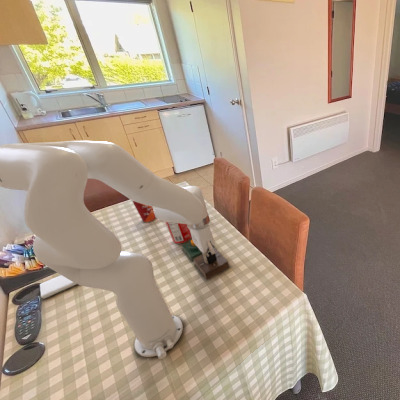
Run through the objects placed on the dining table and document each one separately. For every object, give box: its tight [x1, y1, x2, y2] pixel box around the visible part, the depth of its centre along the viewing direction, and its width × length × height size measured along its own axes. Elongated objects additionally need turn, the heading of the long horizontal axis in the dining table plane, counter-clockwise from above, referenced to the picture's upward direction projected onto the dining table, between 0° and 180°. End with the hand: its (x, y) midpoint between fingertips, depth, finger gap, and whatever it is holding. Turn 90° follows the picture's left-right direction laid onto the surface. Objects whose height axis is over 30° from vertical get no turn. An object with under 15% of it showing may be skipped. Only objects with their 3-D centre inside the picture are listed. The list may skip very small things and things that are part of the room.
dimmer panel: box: [193, 247, 230, 280], centre depth 103 cm, size 11×9×3 cm
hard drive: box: [39, 274, 77, 300], centre depth 97 cm, size 2×8×12 cm
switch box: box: [181, 240, 202, 262], centre depth 111 cm, size 10×9×4 cm
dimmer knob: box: [202, 250, 210, 264], centre depth 101 cm, size 4×4×5 cm
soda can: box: [165, 222, 192, 245], centre depth 115 cm, size 8×8×15 cm
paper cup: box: [130, 199, 156, 223], centre depth 129 cm, size 8×8×14 cm
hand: (209, 258), depth 102 cm, fingers closed on dimmer knob, 4 cm apart
